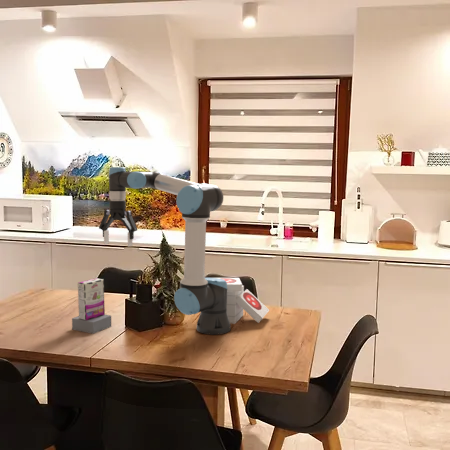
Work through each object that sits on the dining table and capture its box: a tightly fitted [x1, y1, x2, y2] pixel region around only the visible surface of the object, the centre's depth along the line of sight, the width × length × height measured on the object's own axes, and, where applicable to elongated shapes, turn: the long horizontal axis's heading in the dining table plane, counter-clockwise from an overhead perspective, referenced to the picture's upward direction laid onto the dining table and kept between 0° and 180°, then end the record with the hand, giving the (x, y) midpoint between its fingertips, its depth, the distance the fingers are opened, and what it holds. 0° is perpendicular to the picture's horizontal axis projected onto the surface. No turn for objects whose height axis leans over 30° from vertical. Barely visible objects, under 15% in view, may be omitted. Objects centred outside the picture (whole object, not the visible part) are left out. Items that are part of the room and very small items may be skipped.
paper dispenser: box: [217, 277, 270, 325], centre depth 253 cm, size 19×30×18 cm, turn 73°
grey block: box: [71, 314, 112, 334], centre depth 236 cm, size 12×12×5 cm
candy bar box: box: [77, 277, 106, 320], centre depth 235 cm, size 11×5×16 cm, turn 145°
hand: (118, 245), depth 251 cm, fingers open, 13 cm apart
